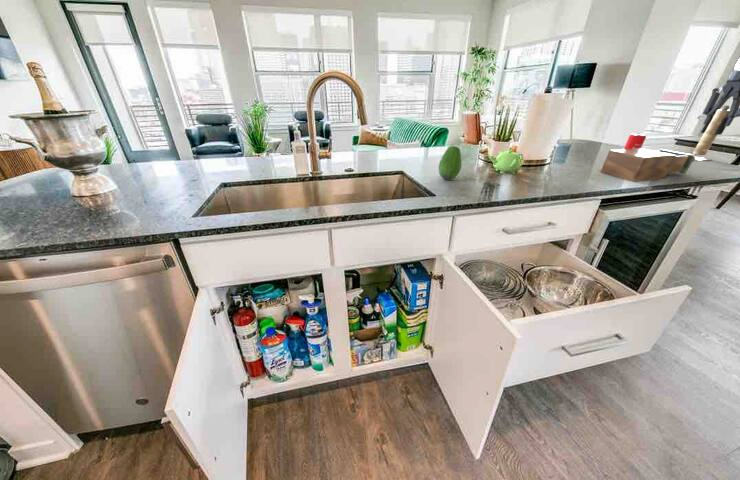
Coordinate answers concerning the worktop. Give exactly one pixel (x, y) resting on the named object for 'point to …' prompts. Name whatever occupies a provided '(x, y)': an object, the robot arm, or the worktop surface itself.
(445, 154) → the avocado
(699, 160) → the tile
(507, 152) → the green bumpy rounded figure
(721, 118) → the pepper mill
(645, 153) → the wood grain box
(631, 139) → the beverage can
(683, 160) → the drawer
